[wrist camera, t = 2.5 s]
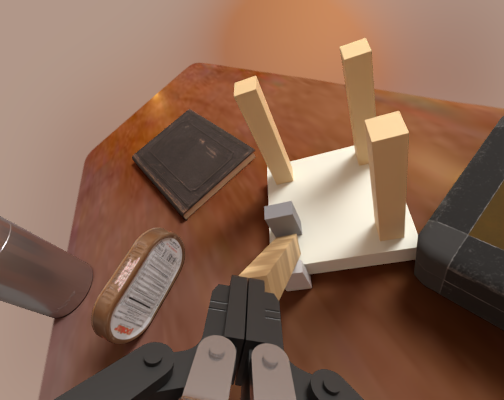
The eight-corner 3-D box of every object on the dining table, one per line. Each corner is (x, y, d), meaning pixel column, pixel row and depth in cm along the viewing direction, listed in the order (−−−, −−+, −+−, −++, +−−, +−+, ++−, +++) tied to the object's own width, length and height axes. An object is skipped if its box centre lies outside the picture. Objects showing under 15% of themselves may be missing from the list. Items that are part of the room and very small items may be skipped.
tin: (181, 244, 46) (148, 214, 40) (197, 249, 45) (164, 219, 39) (123, 343, 40) (73, 327, 34) (139, 353, 39) (89, 338, 32)
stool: (278, 292, 37) (210, 211, 23) (273, 179, 47) (224, 80, 34) (425, 273, 32) (447, 160, 19) (382, 153, 43) (376, 26, 29)
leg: (280, 257, 36) (241, 313, 21) (276, 237, 36) (234, 280, 21) (301, 254, 35) (274, 309, 21) (296, 233, 35) (266, 275, 21)
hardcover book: (194, 116, 67) (189, 108, 65) (259, 158, 52) (254, 149, 50) (137, 164, 64) (130, 157, 62) (188, 222, 49) (180, 215, 48)
